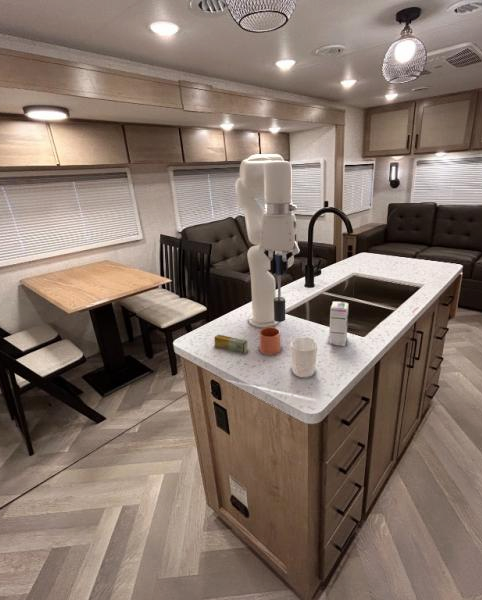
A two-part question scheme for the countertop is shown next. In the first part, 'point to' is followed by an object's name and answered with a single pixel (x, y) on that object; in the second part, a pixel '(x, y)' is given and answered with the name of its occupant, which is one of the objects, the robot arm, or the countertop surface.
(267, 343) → the cup
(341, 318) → the syrup box
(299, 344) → the white cup
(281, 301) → the bottle brush
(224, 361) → the countertop surface
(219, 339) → the medication box
